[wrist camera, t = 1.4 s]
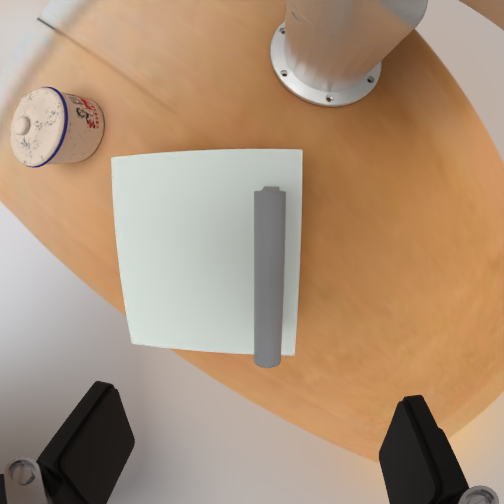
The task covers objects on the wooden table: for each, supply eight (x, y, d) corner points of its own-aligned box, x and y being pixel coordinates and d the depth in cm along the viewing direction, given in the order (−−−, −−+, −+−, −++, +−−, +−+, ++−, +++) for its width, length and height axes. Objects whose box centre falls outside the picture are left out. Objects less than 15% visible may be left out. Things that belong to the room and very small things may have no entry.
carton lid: (115, 157, 26) (70, 158, 19) (301, 150, 24) (310, 144, 18) (134, 339, 31) (105, 377, 24) (294, 350, 29) (296, 398, 23)
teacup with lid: (119, 121, 34) (62, 111, 22) (80, 178, 36) (19, 187, 25) (69, 75, 32) (13, 58, 21) (35, 127, 34) (-23, 126, 23)
